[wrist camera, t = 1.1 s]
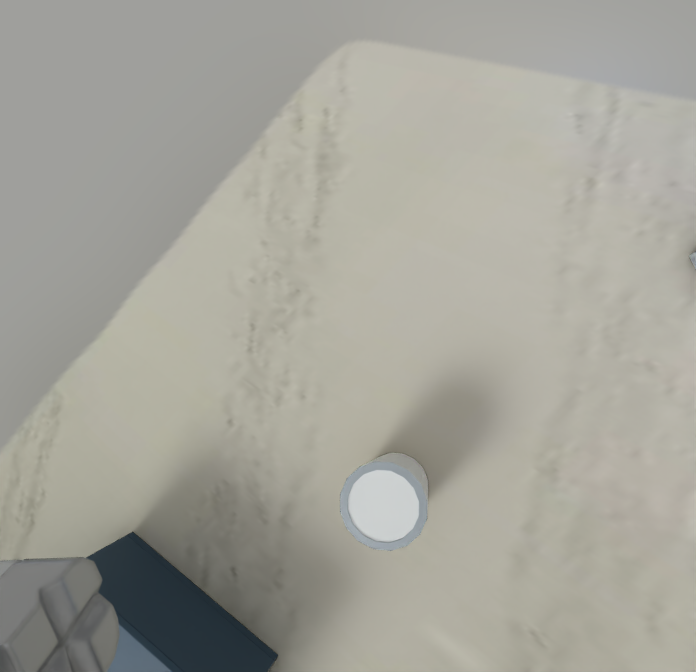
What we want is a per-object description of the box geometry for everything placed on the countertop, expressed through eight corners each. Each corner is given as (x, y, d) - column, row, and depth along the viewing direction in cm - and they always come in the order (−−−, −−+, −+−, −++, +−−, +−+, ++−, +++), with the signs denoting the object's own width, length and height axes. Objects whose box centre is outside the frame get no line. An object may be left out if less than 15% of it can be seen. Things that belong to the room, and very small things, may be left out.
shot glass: (343, 470, 55) (322, 489, 48) (407, 430, 54) (396, 444, 47) (384, 538, 54) (369, 567, 47) (451, 499, 53) (445, 524, 46)
